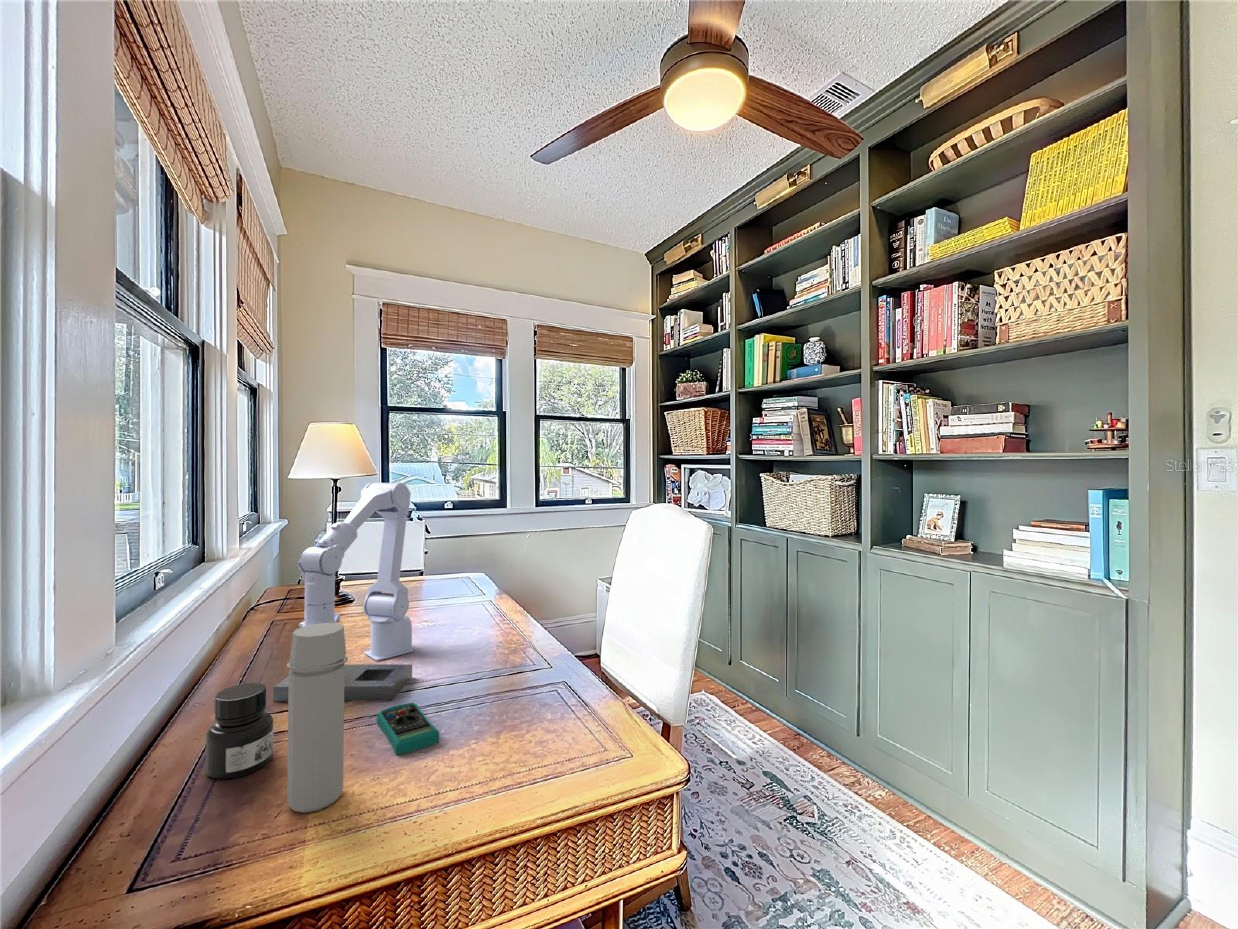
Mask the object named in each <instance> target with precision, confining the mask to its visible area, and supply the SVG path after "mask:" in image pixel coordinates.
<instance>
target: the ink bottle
mask: <svg viewBox="0 0 1238 929" xmlns="http://www.w3.org/2000/svg"><path fill="white" fill-rule="evenodd" d="M266 705H267V686H266V684H264V683H260V682H251V683H250V682H247V683H241V684H235V685H232V686H229V687H226V688H224V689H222V690H220V691H218V692H217V693H216V694H215V695H214V715H215V716H214V720H215V721H214V723H213V724H211V725H210V727H209V728H208V729H207V731H206V735H205V772H206V776H208V777H210V778H214V779H221V780H222V779H234V778H238V777H243V776H246V775H248V774H250V773H253V772H255V771H257V770H259V769H260V768H262V767H263V766H265V765H266V764H267V763H268V762H270V761H271V759H272V757H273V754H274V718H273V716H272V715H271V714H270V713H269V712H266V711H265V710H266V708H267V707H266Z"/></svg>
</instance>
